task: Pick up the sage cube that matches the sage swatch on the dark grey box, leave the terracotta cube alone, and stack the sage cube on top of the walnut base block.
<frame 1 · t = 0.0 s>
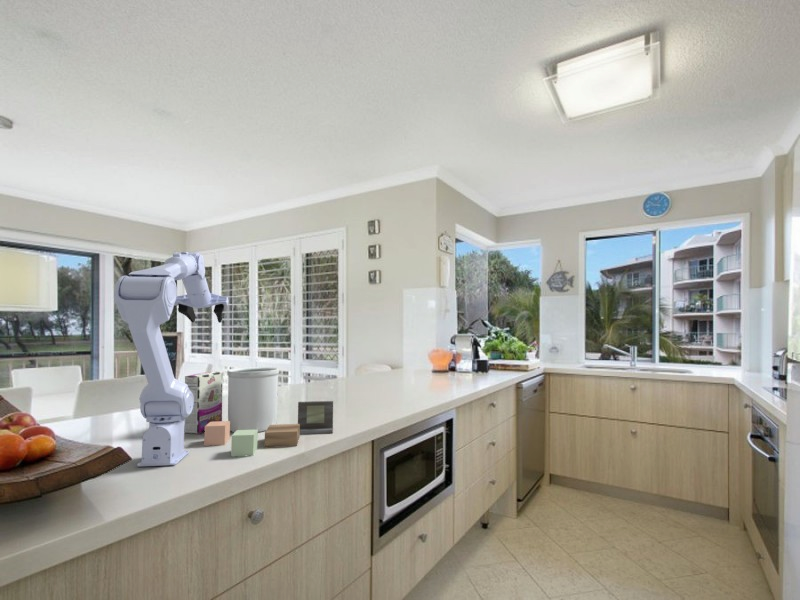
hand: (207, 320, 125), 32 cm above the worktop, tool tilted 50°, fingers open, 7 cm apart
terracotta cube: (217, 442, 109), on the worktop
dark grey box: (315, 431, 120), on the worktop
walnut base block: (282, 443, 109), on the worktop
utensil holder: (252, 428, 124), on the worktop
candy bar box: (203, 429, 122), on the worktop
sage cube: (244, 453, 100), on the worktop
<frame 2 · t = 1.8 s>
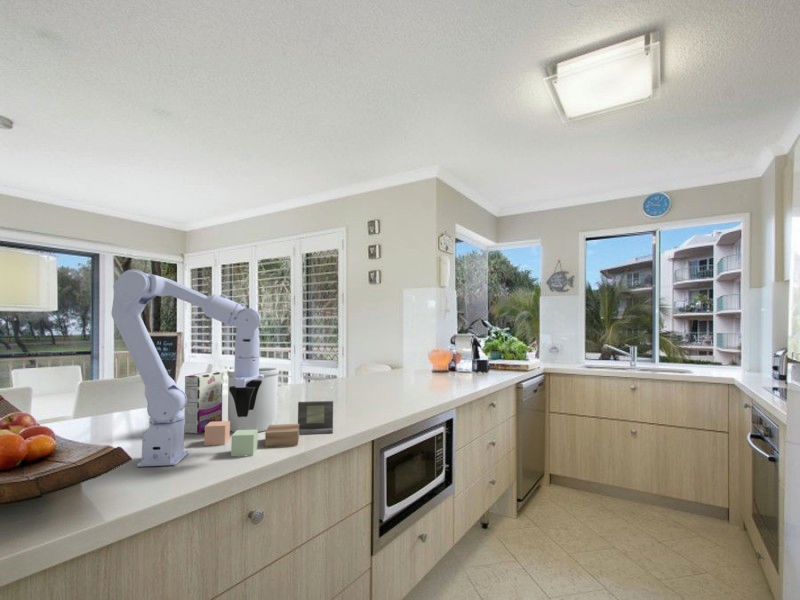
hand: (245, 413, 101), 9 cm above the worktop, tool pointing down, fingers open, 7 cm apart
nothing on the worktop moved.
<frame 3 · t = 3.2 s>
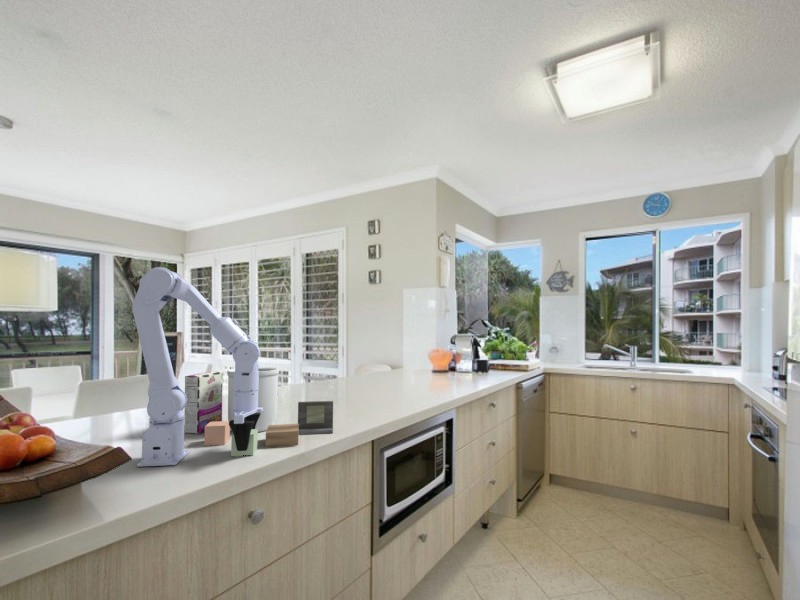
hand: (244, 446, 100), 1 cm above the worktop, tool pointing down, fingers closed on sage cube, 5 cm apart
sage cube: (244, 452, 100), on the worktop, touching gripper
everything else where it was.
when the fingers open (7 cm above the worktop, at t = 6.1 s): sage cube drops 2 cm, point 4 cm above the worktop.
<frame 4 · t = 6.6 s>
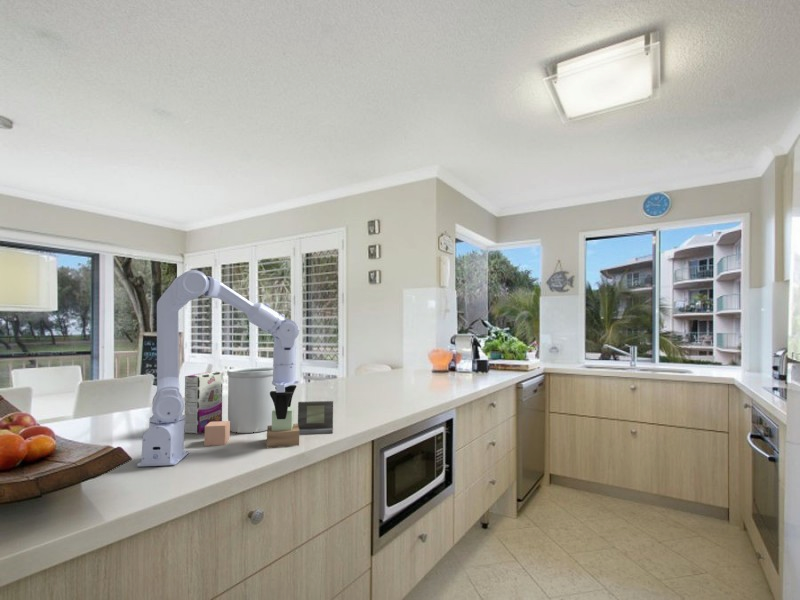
hand: (283, 415, 110), 7 cm above the worktop, tool pointing down, fingers open, 7 cm apart
sage cube: (282, 428, 109), point 4 cm above the worktop
everything else where it was.
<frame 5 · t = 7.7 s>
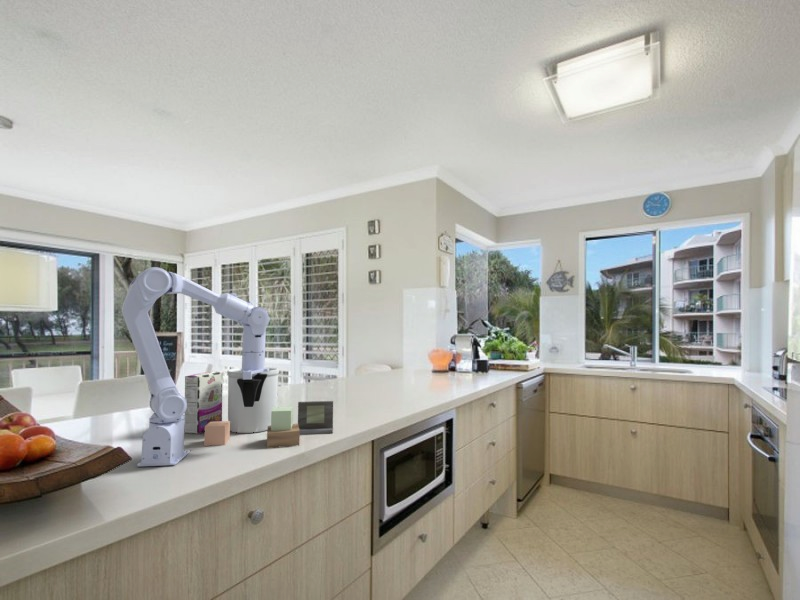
hand: (252, 403, 108), 10 cm above the worktop, tool pointing down, fingers open, 7 cm apart
walnut base block: (283, 443, 109), on the worktop, touching sage cube
sage cube: (282, 428, 110), point 4 cm above the worktop, touching walnut base block
everything else where it was.
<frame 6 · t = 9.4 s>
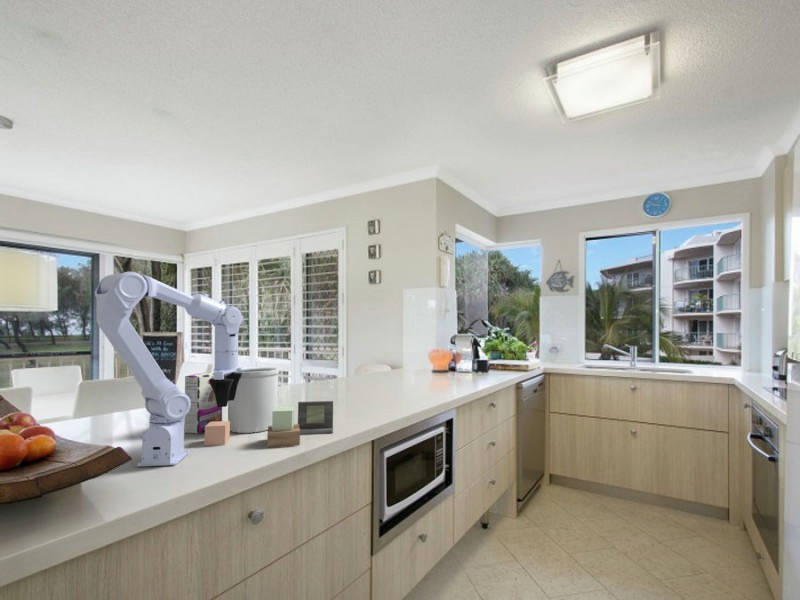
hand: (226, 403, 108), 10 cm above the worktop, tool pointing down, fingers open, 7 cm apart
walnut base block: (283, 443, 109), on the worktop
sage cube: (283, 428, 109), point 4 cm above the worktop
everything else where it was.
at the end: sage cube 0.2 cm off-centre on the walnut base block, point 4.0 cm above the walnut base block's base; sage cube tilted 0°; terracotta cube moved 0.1 cm from its start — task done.
